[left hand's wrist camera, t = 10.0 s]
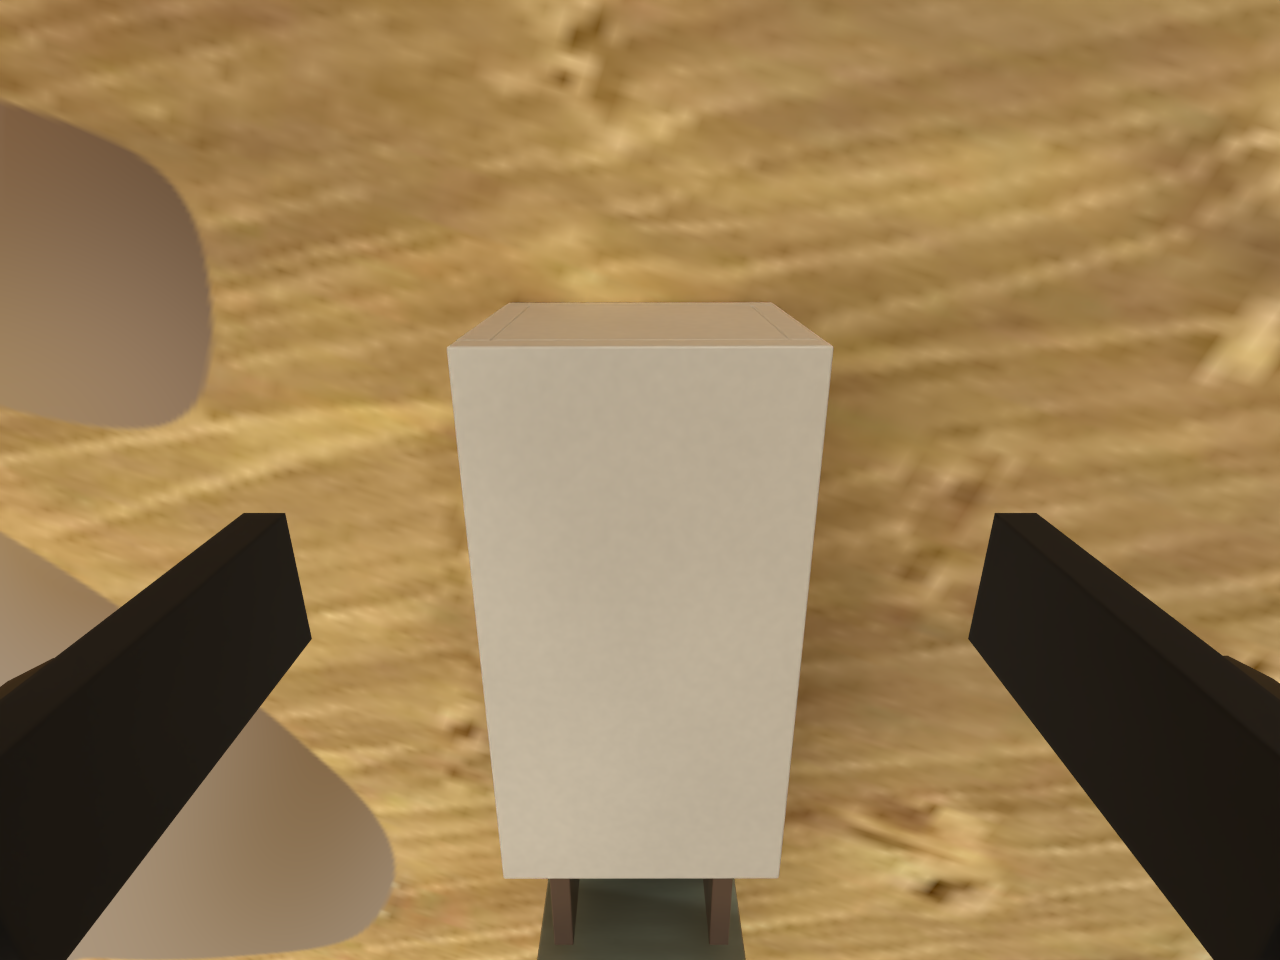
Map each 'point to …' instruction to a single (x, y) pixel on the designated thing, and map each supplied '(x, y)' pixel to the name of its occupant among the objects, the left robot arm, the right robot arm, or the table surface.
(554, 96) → the table surface
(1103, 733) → the left robot arm
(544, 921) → the drawer
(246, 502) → the table surface
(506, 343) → the cabinet
